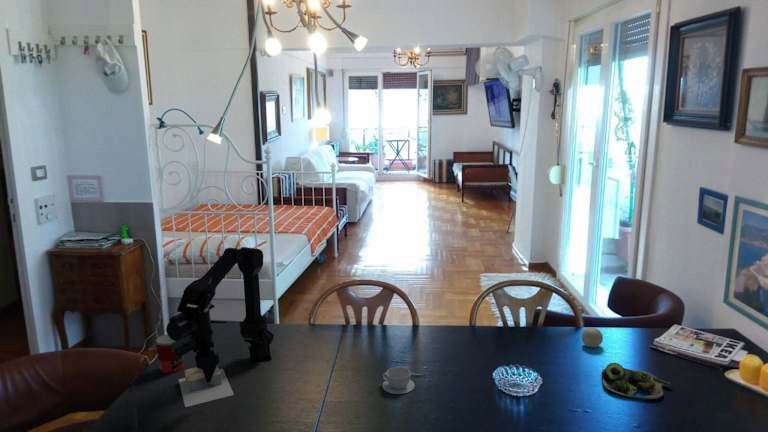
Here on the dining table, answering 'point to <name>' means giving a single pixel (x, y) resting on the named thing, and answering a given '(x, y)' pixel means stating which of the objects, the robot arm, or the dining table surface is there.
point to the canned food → (168, 356)
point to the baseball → (592, 337)
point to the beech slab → (201, 379)
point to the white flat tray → (205, 392)
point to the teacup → (398, 381)
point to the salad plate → (631, 382)
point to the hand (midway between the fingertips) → (206, 375)
